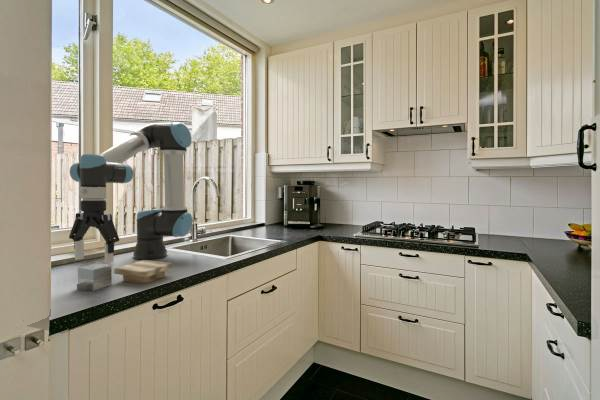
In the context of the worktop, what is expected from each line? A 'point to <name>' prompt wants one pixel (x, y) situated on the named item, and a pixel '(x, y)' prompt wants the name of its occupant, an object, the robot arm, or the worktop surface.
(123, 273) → the stand
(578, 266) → the worktop surface
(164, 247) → the robot arm
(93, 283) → the housing
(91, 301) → the worktop surface
